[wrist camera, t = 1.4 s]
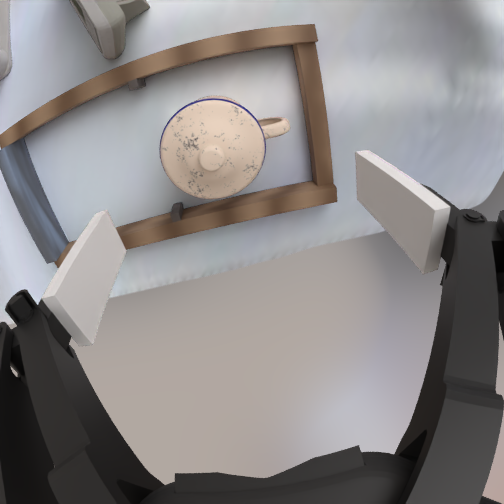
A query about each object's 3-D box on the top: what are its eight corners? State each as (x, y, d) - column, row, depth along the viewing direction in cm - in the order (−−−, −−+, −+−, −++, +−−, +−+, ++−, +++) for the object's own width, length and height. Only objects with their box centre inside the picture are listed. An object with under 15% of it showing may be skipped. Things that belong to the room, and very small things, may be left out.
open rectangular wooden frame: (306, 28, 24) (319, 21, 20) (329, 192, 36) (341, 207, 32) (10, 131, 25) (-10, 140, 21) (65, 256, 37) (54, 274, 33)
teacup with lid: (188, 178, 33) (175, 226, 23) (164, 108, 28) (135, 124, 18) (286, 152, 32) (316, 190, 23) (269, 79, 27) (296, 79, 18)
